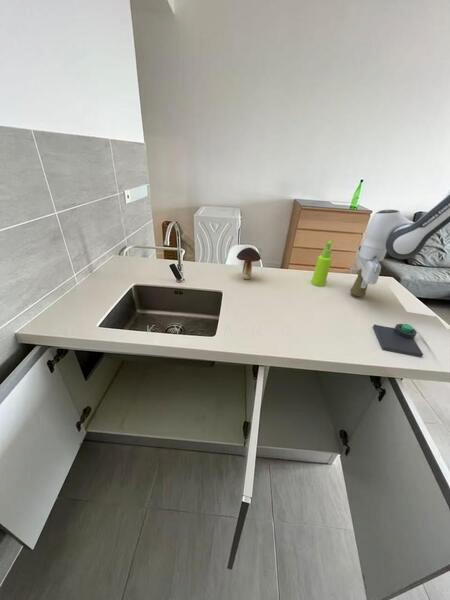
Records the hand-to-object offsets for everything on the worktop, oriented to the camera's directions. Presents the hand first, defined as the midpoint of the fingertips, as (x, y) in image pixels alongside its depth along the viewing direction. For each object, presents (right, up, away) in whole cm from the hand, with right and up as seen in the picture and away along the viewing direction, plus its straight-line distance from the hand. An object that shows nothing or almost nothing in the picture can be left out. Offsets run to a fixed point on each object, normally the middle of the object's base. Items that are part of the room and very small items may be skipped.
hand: (360, 284), depth 102 cm
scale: (-1, -20, -22) cm, 30 cm away
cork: (0, -4, +2) cm, 4 cm away
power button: (+3, -17, -21) cm, 27 cm away
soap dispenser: (-14, +1, +12) cm, 18 cm away
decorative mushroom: (-47, +3, +12) cm, 49 cm away
